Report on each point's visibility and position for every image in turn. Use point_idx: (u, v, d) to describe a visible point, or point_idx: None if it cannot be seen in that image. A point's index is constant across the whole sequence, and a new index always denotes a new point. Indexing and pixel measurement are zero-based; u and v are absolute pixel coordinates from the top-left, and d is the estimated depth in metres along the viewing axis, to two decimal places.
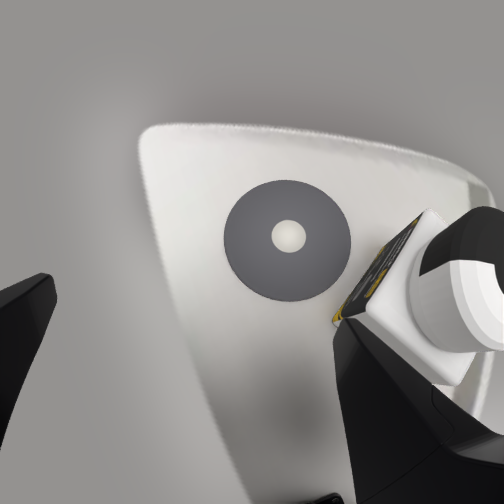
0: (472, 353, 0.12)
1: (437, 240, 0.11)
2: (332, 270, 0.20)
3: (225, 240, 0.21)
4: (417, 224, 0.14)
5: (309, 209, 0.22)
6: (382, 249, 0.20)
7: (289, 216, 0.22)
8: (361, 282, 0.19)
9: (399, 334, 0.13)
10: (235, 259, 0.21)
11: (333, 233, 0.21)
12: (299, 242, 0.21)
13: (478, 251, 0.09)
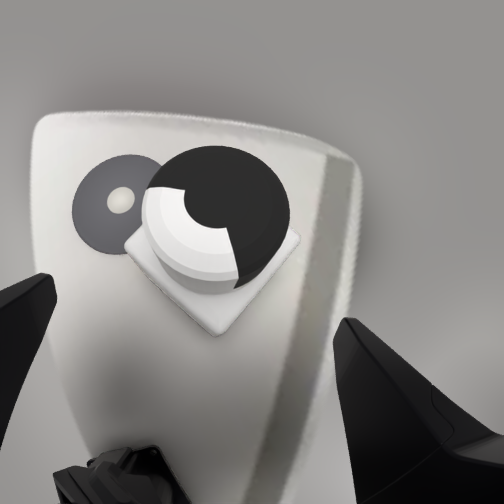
0: (238, 302, 0.15)
1: None
2: None
3: (73, 203, 0.22)
4: None
5: (142, 178, 0.24)
6: None
7: (124, 184, 0.23)
8: None
9: (149, 269, 0.15)
10: (78, 219, 0.22)
11: None
12: (128, 205, 0.23)
13: (169, 179, 0.11)
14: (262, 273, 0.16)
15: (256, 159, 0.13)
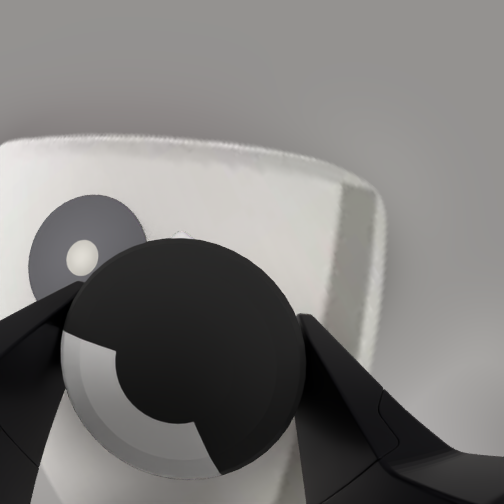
0: None
1: None
2: None
3: (29, 261, 0.17)
4: None
5: (106, 227, 0.18)
6: None
7: (85, 235, 0.18)
8: None
9: None
10: (35, 281, 0.16)
11: None
12: (90, 265, 0.17)
13: (90, 324, 0.06)
14: None
15: (246, 270, 0.07)
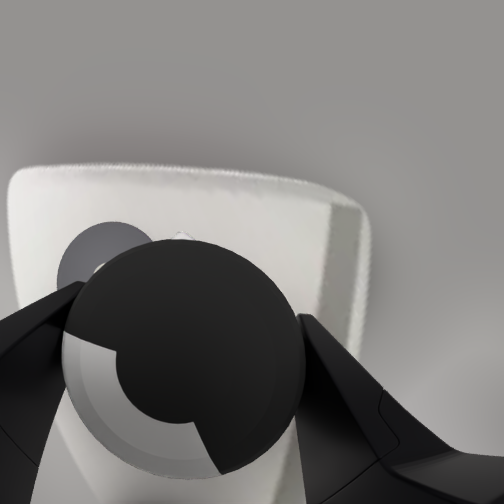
0: None
1: None
2: None
3: (57, 282, 0.20)
4: None
5: None
6: None
7: (108, 259, 0.21)
8: None
9: None
10: None
11: None
12: None
13: (91, 325, 0.06)
14: None
15: (245, 270, 0.07)
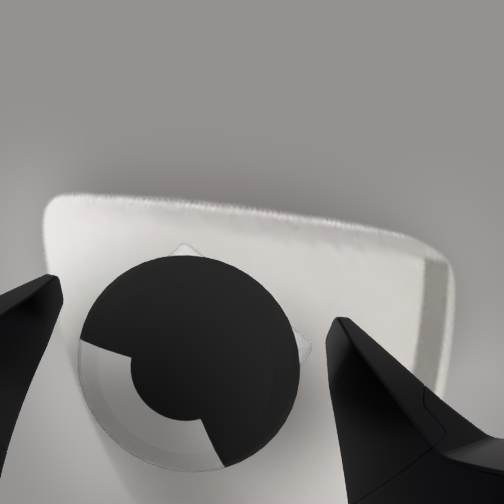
0: None
1: None
2: None
3: None
4: None
5: None
6: None
7: None
8: None
9: None
10: None
11: None
12: None
13: (107, 334, 0.07)
14: None
15: (246, 284, 0.08)
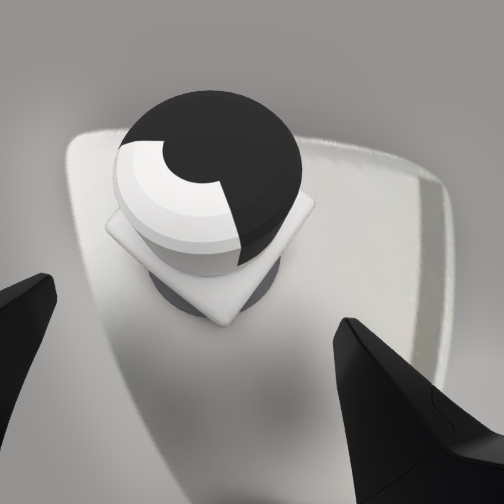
0: (245, 283, 0.12)
1: None
2: (260, 283, 0.20)
3: None
4: None
5: None
6: None
7: None
8: None
9: (135, 252, 0.12)
10: None
11: None
12: None
13: (145, 131, 0.08)
14: (272, 246, 0.13)
15: (253, 101, 0.09)
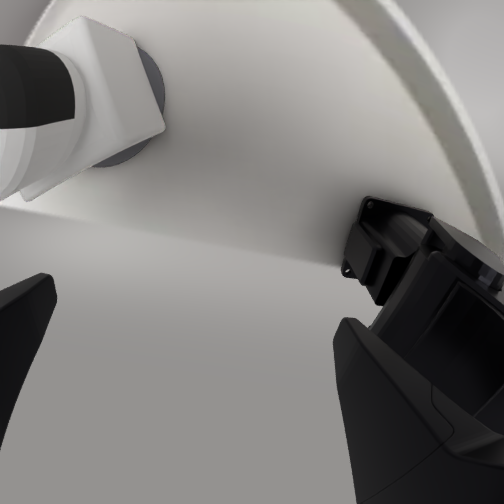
0: (102, 110, 0.11)
1: None
2: (150, 78, 0.16)
3: None
4: None
5: None
6: None
7: None
8: None
9: (47, 186, 0.12)
10: None
11: None
12: None
13: None
14: (89, 72, 0.10)
15: None
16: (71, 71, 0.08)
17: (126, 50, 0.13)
